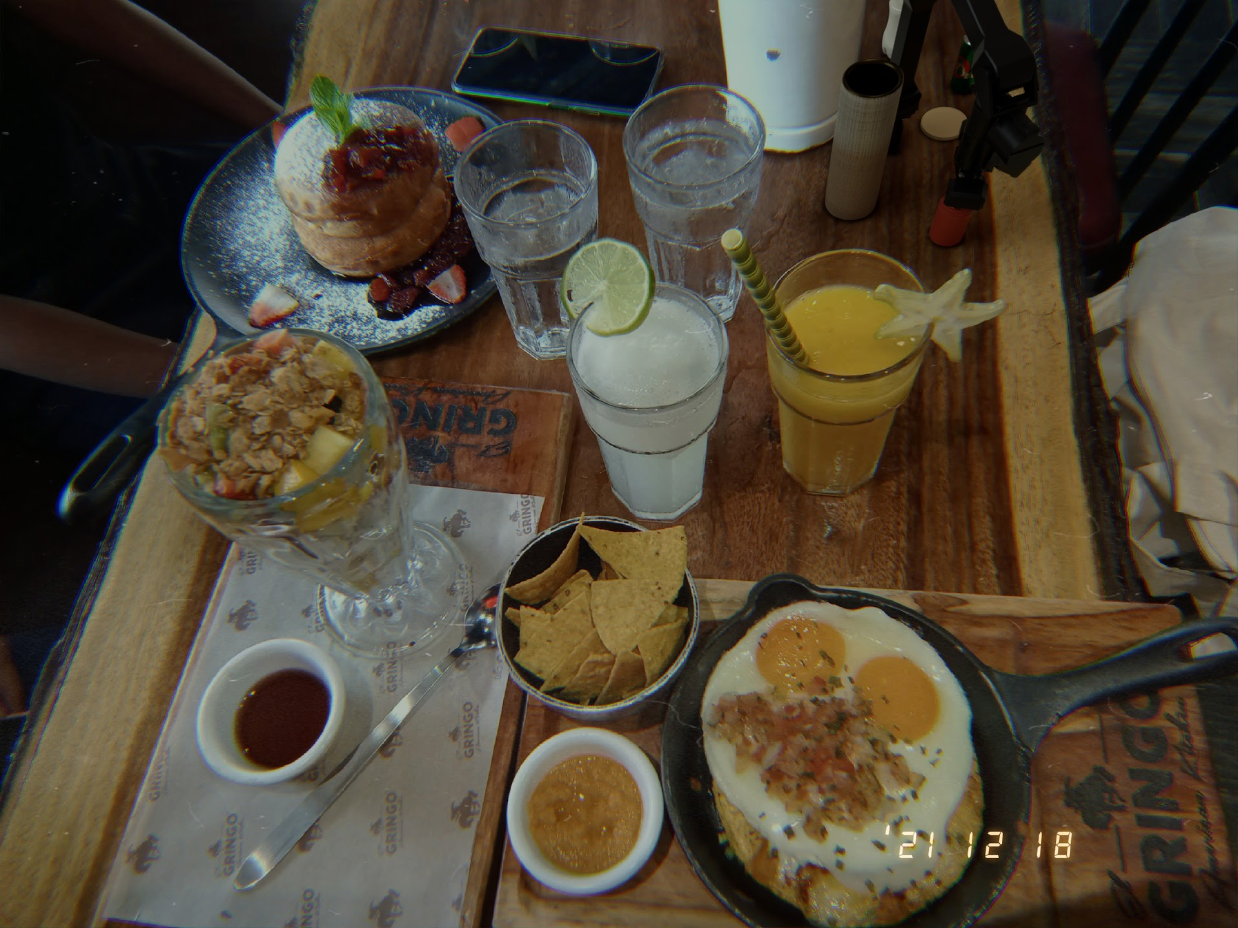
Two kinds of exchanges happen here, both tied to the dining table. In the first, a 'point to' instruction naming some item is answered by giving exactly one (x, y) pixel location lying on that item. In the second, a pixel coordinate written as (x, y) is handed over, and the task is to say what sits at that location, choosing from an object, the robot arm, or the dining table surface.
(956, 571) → the dining table surface
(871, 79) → the vase
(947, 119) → the coaster
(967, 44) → the soda can
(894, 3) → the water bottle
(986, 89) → the robot arm
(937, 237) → the sauce bottle
